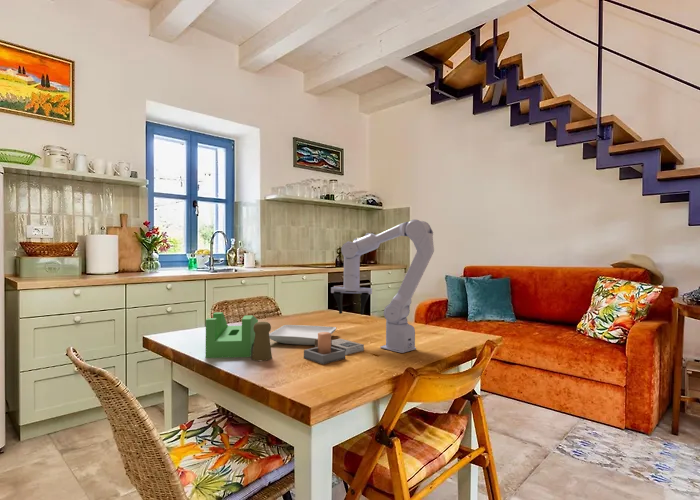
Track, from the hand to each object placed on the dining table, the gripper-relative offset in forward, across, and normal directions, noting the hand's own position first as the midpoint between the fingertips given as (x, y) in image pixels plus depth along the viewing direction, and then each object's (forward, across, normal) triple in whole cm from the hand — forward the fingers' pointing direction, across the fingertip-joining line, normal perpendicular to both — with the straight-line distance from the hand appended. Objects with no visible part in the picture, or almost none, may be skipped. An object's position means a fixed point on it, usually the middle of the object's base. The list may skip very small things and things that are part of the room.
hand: (351, 313), depth 143 cm
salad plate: (+11, +18, 0) cm, 21 cm away
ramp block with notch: (+11, +37, +16) cm, 42 cm away
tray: (+10, +4, +22) cm, 24 cm away
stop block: (+10, +7, +12) cm, 18 cm away
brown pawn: (+11, +23, +26) cm, 36 cm away
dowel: (+10, +4, +21) cm, 24 cm away
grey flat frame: (+10, +1, +10) cm, 14 cm away
